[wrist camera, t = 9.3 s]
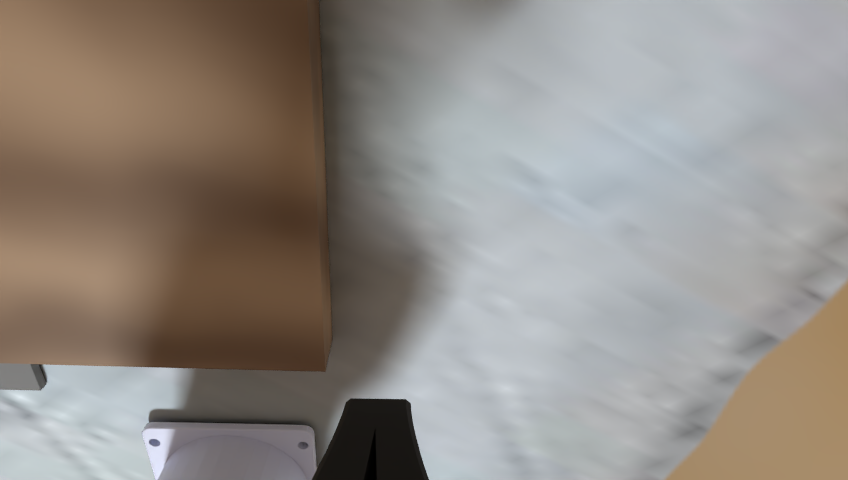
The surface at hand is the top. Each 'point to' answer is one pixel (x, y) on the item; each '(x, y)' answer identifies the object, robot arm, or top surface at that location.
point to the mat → (21, 377)
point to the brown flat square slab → (163, 184)
